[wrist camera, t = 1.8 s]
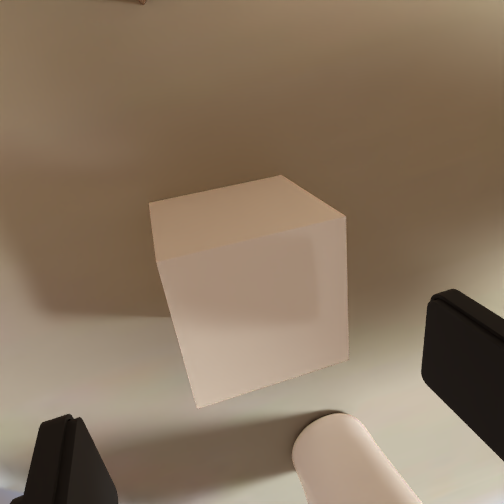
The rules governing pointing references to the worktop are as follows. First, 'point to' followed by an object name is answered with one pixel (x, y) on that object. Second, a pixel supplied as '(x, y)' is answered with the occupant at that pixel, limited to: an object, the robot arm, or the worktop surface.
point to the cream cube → (253, 284)
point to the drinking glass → (346, 465)
